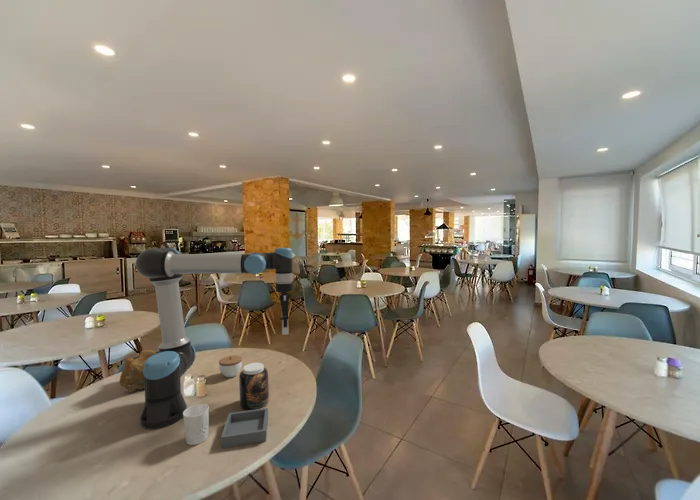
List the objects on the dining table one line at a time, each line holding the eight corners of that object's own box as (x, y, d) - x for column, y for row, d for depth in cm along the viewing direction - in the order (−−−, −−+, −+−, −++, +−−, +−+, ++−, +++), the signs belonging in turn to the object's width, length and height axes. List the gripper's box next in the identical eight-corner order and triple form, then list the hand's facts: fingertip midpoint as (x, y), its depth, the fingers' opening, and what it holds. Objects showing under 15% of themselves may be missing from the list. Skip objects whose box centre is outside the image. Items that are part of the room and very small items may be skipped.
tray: (221, 448, 98) (221, 437, 98) (229, 422, 111) (228, 413, 111) (266, 440, 101) (265, 430, 101) (268, 416, 114) (268, 407, 114)
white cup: (199, 448, 98) (198, 417, 98) (178, 445, 100) (177, 415, 99) (215, 432, 106) (213, 404, 105) (195, 430, 107) (194, 402, 107)
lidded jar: (247, 372, 153) (246, 354, 152) (228, 381, 144) (227, 362, 143) (233, 368, 158) (232, 350, 158) (214, 376, 149) (214, 357, 149)
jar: (233, 407, 121) (231, 370, 121) (252, 393, 132) (250, 359, 132) (257, 412, 117) (256, 374, 117) (275, 397, 128) (273, 362, 128)
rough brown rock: (155, 397, 132) (157, 363, 132) (112, 398, 129) (114, 363, 129) (175, 375, 155) (176, 346, 155) (139, 376, 152) (140, 346, 152)
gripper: (294, 286, 123) (295, 337, 124) (291, 278, 147) (292, 321, 148) (275, 287, 121) (276, 339, 122) (275, 279, 146) (276, 322, 146)
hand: (285, 329), depth 135 cm, fingers open, 13 cm apart
